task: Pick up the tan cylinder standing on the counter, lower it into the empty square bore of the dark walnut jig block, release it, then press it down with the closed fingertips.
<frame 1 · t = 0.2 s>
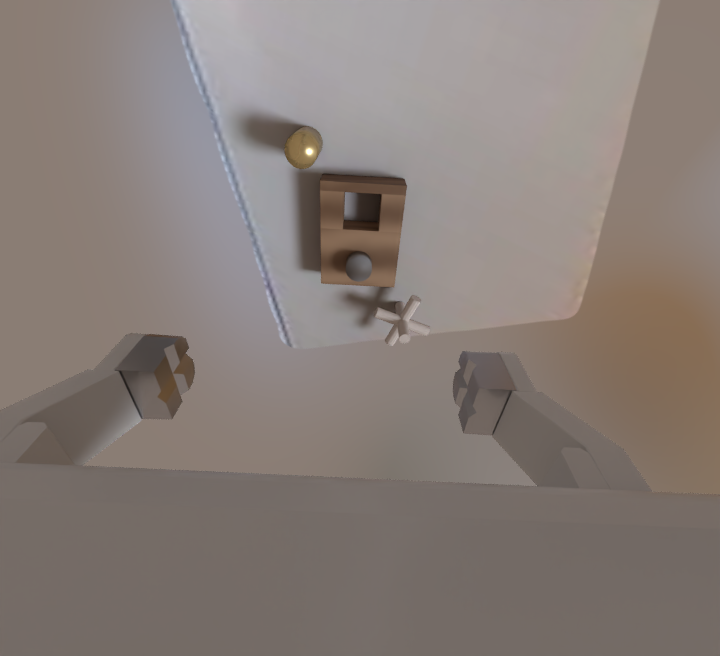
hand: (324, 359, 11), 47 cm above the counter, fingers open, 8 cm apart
jig: (360, 229, 57), on the counter
tan cylinder: (308, 142, 50), on the counter
pipe connector: (399, 305, 65), on the counter
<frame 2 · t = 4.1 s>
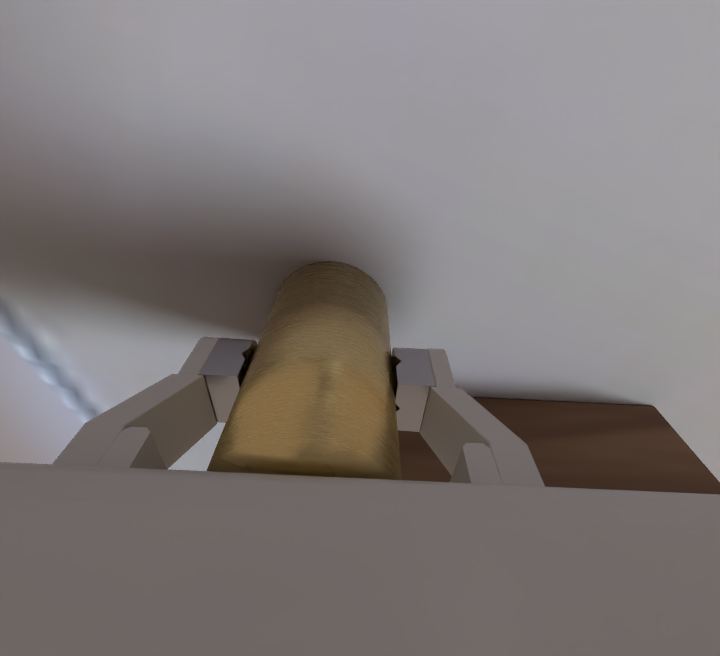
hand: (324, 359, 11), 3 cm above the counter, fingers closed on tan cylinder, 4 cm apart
jig: (472, 497, 20), on the counter
tan cylinder: (332, 312, 13), on the counter, touching gripper
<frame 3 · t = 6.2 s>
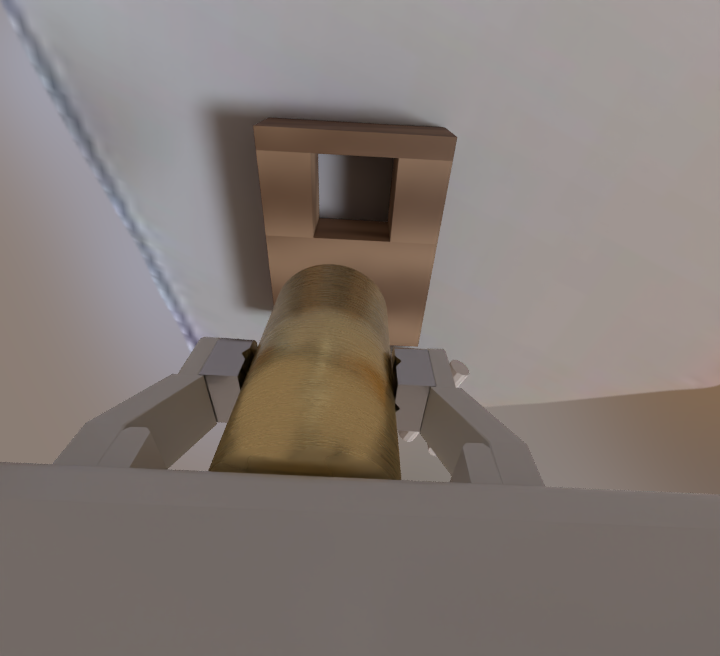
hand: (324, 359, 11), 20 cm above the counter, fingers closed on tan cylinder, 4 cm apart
jig: (352, 235, 29), on the counter
tan cylinder: (331, 314, 13), point 17 cm above the counter, touching gripper
pipe connector: (423, 365, 37), on the counter
when the fingers open (5 cm above the counter, at t = 8.7 s): tan cylinder drops 2 cm, resting in jig.
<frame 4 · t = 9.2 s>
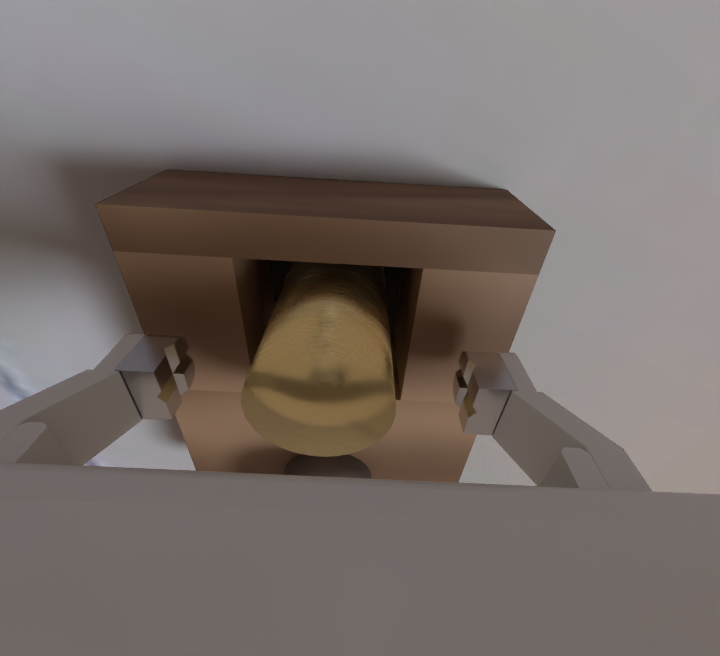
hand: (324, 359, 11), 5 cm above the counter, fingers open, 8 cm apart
jig: (335, 354, 17), on the counter
tan cylinder: (337, 281, 15), resting in jig
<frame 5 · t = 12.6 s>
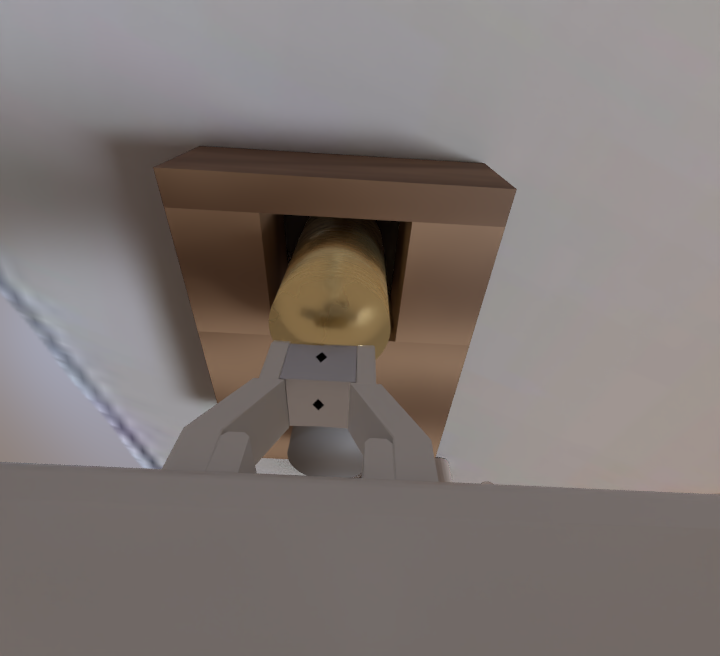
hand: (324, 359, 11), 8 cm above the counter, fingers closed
jig: (339, 312, 20), on the counter
tan cylinder: (342, 245, 17), resting in jig
pipe connector: (436, 462, 28), on the counter
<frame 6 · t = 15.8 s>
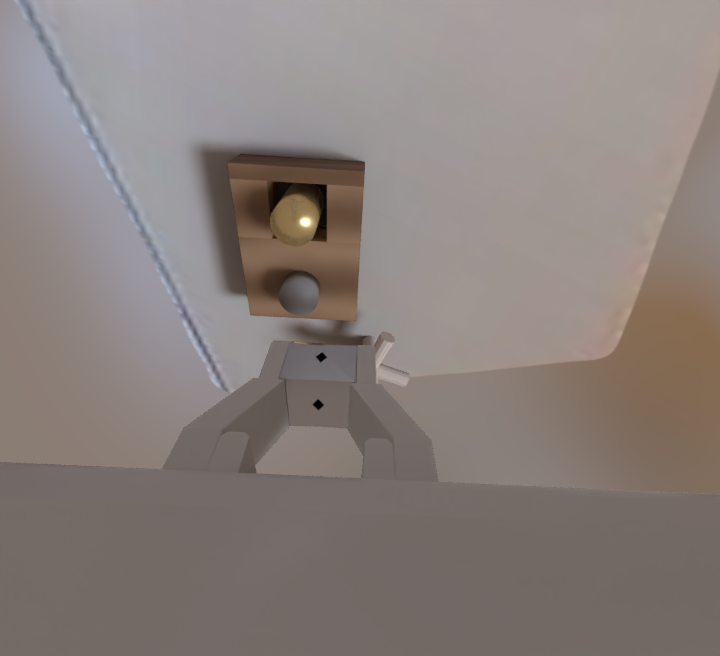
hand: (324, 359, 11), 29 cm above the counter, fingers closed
jig: (305, 237, 39), on the counter
tan cylinder: (304, 200, 37), resting in jig
pipe connector: (369, 340, 47), on the counter
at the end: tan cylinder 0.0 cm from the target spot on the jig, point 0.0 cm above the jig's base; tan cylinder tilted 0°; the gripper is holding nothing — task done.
